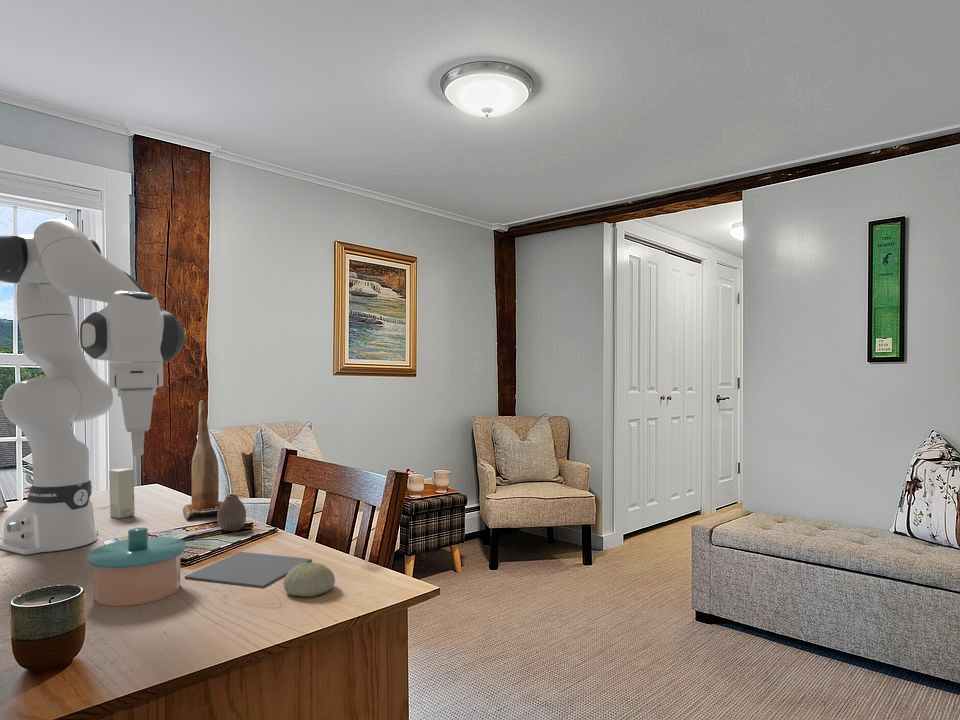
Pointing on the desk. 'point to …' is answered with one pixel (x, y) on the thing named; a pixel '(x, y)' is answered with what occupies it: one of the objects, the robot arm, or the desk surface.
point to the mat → (248, 569)
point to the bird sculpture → (203, 472)
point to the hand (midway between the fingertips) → (138, 452)
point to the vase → (231, 514)
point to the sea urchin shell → (308, 580)
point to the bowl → (136, 583)
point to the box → (121, 493)
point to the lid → (136, 550)
